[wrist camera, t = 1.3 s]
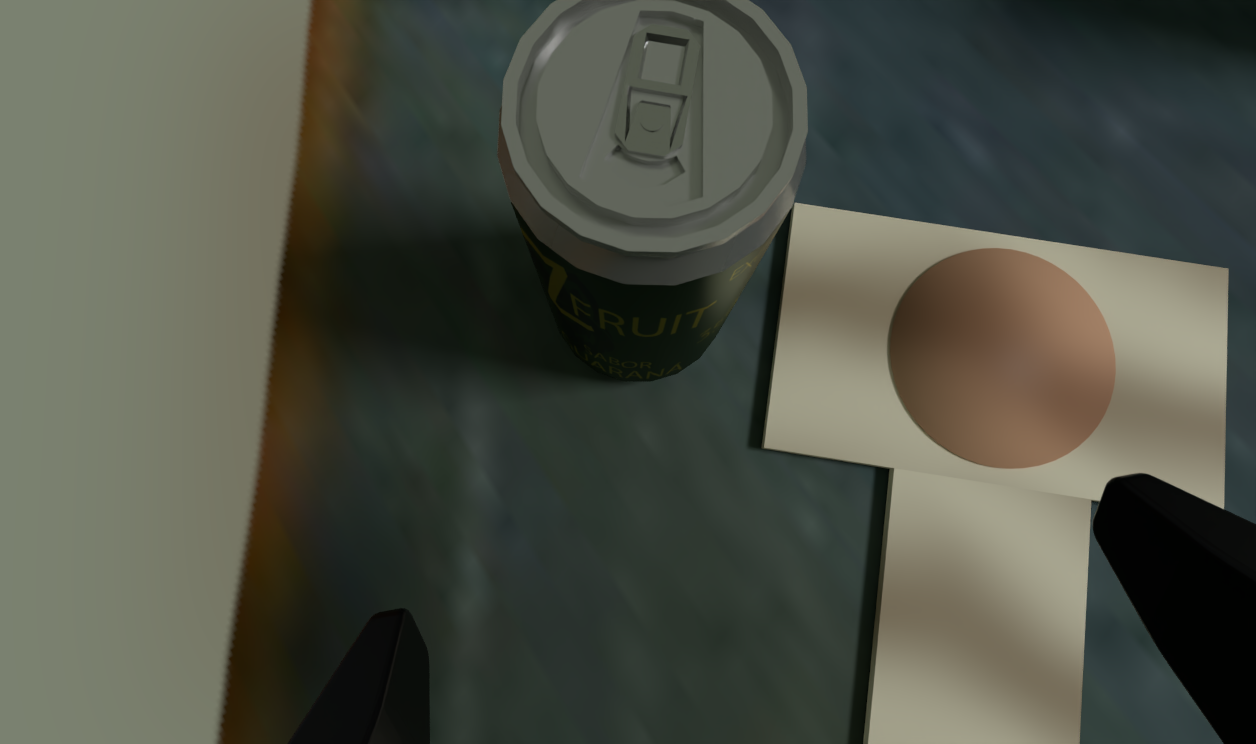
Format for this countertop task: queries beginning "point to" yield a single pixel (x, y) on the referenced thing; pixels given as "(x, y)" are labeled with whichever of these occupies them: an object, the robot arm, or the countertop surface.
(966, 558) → the t plate
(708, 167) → the beer can
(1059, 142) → the countertop surface
